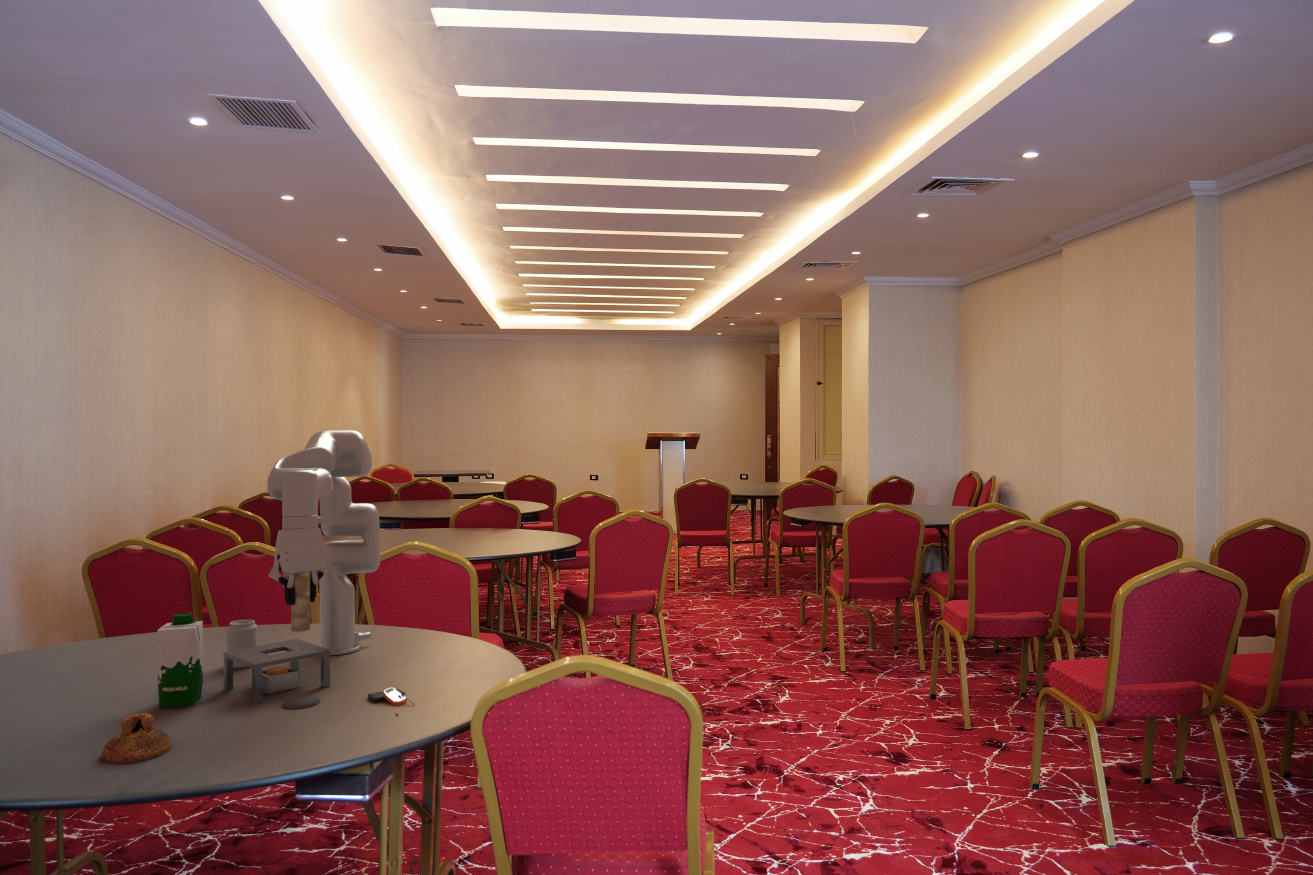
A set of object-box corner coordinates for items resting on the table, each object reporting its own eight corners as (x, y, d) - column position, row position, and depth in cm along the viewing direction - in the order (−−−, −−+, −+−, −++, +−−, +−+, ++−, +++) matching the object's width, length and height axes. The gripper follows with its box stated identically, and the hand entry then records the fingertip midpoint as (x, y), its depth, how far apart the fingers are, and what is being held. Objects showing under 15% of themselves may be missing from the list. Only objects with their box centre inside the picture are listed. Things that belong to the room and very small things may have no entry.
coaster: (310, 695, 197) (310, 694, 197) (326, 702, 191) (326, 700, 192) (276, 704, 191) (276, 702, 191) (291, 711, 186) (291, 709, 186)
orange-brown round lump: (282, 682, 207) (282, 665, 207) (291, 686, 204) (291, 668, 204) (262, 687, 204) (262, 669, 204) (271, 690, 201) (271, 672, 201)
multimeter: (440, 711, 186) (440, 696, 186) (385, 720, 180) (385, 705, 180) (418, 692, 201) (418, 677, 202) (366, 700, 195) (366, 685, 195)
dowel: (305, 626, 194) (305, 558, 194) (313, 629, 191) (313, 559, 192) (288, 629, 191) (288, 560, 191) (296, 632, 188) (295, 561, 189)
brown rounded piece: (183, 741, 168) (183, 705, 168) (149, 764, 156) (149, 725, 156) (124, 742, 167) (124, 706, 167) (85, 765, 155) (85, 726, 155)
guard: (296, 673, 217) (296, 638, 217) (330, 686, 205) (329, 649, 205) (223, 688, 203) (223, 651, 203) (255, 703, 191) (255, 664, 191)
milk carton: (206, 695, 198) (206, 611, 198) (196, 707, 189) (196, 619, 189) (165, 698, 196) (164, 613, 196) (153, 710, 187) (152, 621, 187)
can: (263, 662, 228) (263, 618, 228) (247, 669, 221) (247, 624, 221) (237, 661, 229) (237, 618, 229) (220, 669, 221) (220, 624, 222)
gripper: (327, 519, 200) (327, 596, 200) (256, 525, 188) (256, 606, 188) (342, 521, 195) (343, 599, 195) (270, 527, 183) (271, 610, 183)
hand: (300, 602), depth 191 cm, fingers closed on dowel, 4 cm apart
